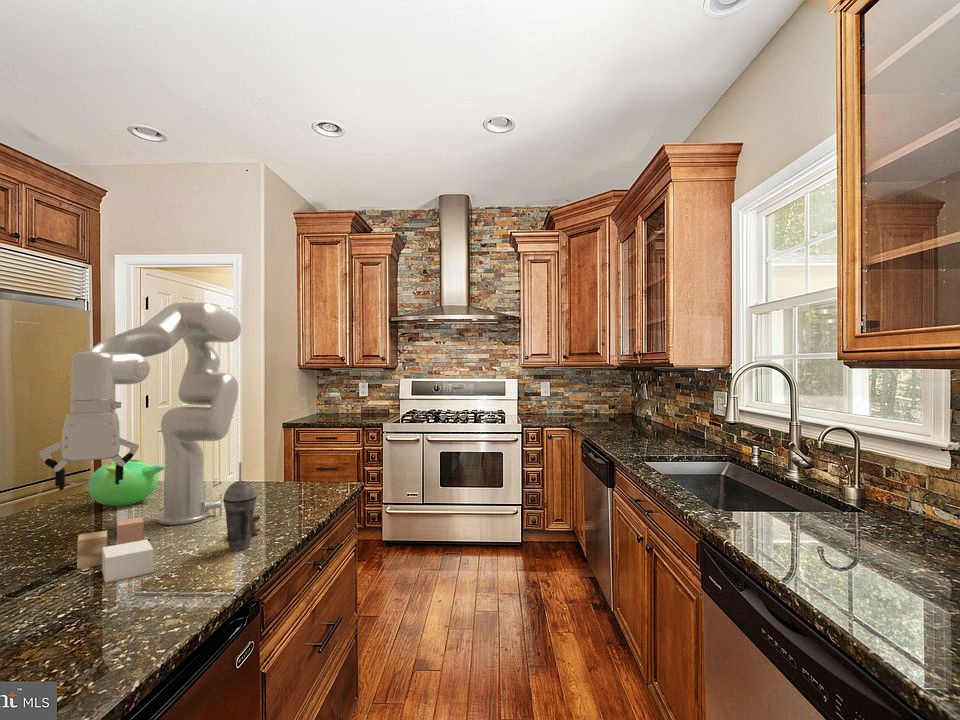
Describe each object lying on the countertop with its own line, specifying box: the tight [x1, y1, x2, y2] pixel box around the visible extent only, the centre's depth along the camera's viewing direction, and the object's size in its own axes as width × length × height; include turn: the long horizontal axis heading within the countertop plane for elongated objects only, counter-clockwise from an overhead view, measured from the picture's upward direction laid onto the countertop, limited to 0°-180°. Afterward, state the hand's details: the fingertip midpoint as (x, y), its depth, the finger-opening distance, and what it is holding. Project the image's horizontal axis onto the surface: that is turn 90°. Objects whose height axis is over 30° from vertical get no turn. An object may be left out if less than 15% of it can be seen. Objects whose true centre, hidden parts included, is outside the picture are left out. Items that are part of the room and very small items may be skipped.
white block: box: [101, 539, 154, 583], centre depth 106 cm, size 8×8×5 cm
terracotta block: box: [116, 516, 145, 545], centre depth 121 cm, size 5×5×6 cm
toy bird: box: [87, 455, 165, 507], centre depth 158 cm, size 18×17×15 cm
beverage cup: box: [222, 461, 258, 551], centre depth 121 cm, size 7×7×20 cm
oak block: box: [76, 530, 108, 570], centre depth 110 cm, size 5×5×6 cm
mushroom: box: [251, 512, 261, 536], centre depth 129 cm, size 8×8×6 cm
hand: (90, 486), depth 111 cm, fingers open, 9 cm apart
